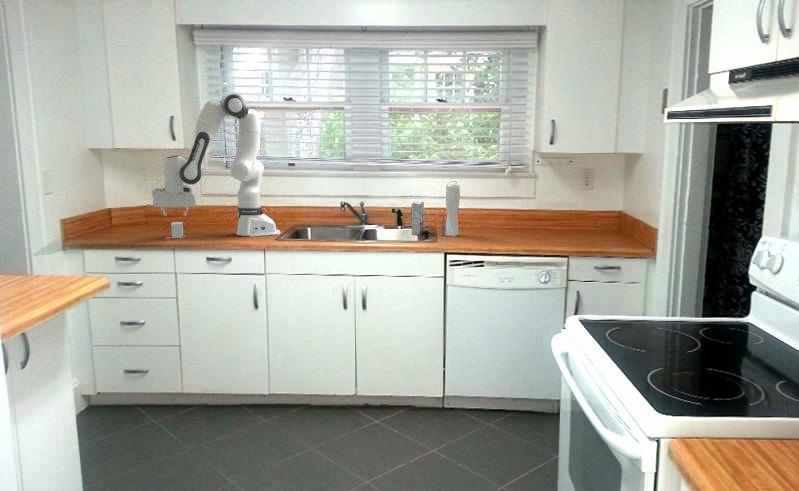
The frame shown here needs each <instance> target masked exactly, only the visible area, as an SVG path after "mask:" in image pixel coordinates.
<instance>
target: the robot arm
mask: <svg viewBox="0 0 799 491" xmlns="http://www.w3.org/2000/svg"><path fill="white" fill-rule="evenodd" d="M226 117H232V118H236V119H237V123H238V132H237V147H236V152H235V156H234V159H233V160H234V161H233V163H232V164H231V167H230V174H231V176H232V178H234V179H235V180H236V181H237V180H238V181H239V182H240V185H239V189H238V191H237V206H238V207H237V218H238V222H237V228H236V229H237V231H236V235H237V236H243V237H251V238H253V237H264V236H265V237H267V236H278V235H280V234H281V231H280V229H277V226H276V223H275V221H274V220H273V219H272V218H270V217H269V216H268V215H267V214H265V213H266V211H267V209H266V208H265V207H262V206H261V184H262V178H263V174H264V172H265V168H264V164H263V162H261V161H260V160H258V159H257V157H258V153H259V151H260V148H261V132H262V131H261V118H260V114H259V112H257V111H256V110H254V109H250V107H249V106H248V104H247V102H246V100H245V98H243V96H241V95H240V94H237V93H230V94H227V95H226V96H225V97H223V99H222V100H220V101H219V102H218V101H217V100H208V101H207V102H205V104H204V105H203V108H202V109H201V111H200V114H199V115H198V118H197V121H196V125H195V131H194V142H193V145H192V149H191V151H190V154H189V157H188V159H186V158H184V157H183V156H181V155H177V154H176V155H171V156H167V157H166V158H165V159H164V161H163V162H164V164H163V174H164V177H165V178H164V187H163V188H160V187H159V188H158V187H157V188H156V187H155V188H154V189H153V190H151V196H152V199H153V201H152V206H153V207H154V208H160V210H161V212H162V213H163V217H166V216H167V217H168V214H167V213H168V212H167V211H165V208H184V207H185V209H186V210H185V211H183V216H184V217H185V216H186V217H187V216H188V214H187V212H188V211H189V209H190V208H192V207H194V208H195V206H197V202H196V195H195V193H194V192H193V190H194V188H193V187H192V186H190V185H195V184H197V183H199V182H200V180H201V179H202V176H203V168H202V164H203V161H204V158H205V154H206V152H207V149H208V148H209V146H210V145H211V144H212V143H213V142H214V140H215V138H216V137H217V135H218V134H219V131H220V129H221V126H222V122H223V120H224V119H225V118H226ZM184 183H185V184H184ZM186 184H187V185H186ZM188 185H189V186H188Z"/></svg>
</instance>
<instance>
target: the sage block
mask: <svg viewBox="0 0 799 491" xmlns="http://www.w3.org/2000/svg"><path fill="white" fill-rule="evenodd" d="M170 228H171V230H170V231H171V236H172V239H171V240H174V239H173V238H180V239H184V238H183V235H184V227H183V221H172V222H171V224H170Z"/></svg>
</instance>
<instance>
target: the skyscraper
mask: <svg viewBox="0 0 799 491" xmlns="http://www.w3.org/2000/svg"><path fill="white" fill-rule="evenodd" d="M451 183H454V184H451ZM460 191H461V187H460V184H458V181H456V180H451V181H449V182H448V183H447V184H446V186H445V206H446V214H447V215H446V220H445V212H444V211H443V212H442V220H441V223H442V224H441V234H440V237H447V238H455V237H458V236H459V235H460V233H459V232H460V231H459V230H460V229H459V217H458V212H459V208H460V199H461V197H460V195H461V194H460V193H461V192H460Z"/></svg>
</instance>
